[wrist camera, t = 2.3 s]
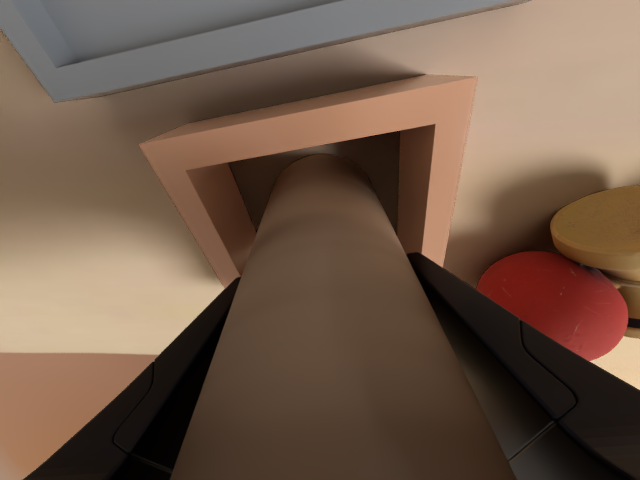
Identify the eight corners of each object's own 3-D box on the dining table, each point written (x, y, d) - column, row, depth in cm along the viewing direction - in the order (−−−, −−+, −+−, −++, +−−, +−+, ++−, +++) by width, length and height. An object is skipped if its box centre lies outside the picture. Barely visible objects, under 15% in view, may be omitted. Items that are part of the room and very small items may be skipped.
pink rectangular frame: (412, 263, 15) (435, 308, 12) (261, 283, 16) (250, 330, 13) (427, 74, 9) (478, 76, 6) (187, 123, 10) (138, 144, 7)
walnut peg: (375, 240, 14) (484, 543, 5) (285, 253, 14) (238, 552, 5) (371, 144, 11) (653, 511, 2) (256, 165, 11) (26, 540, 2)
